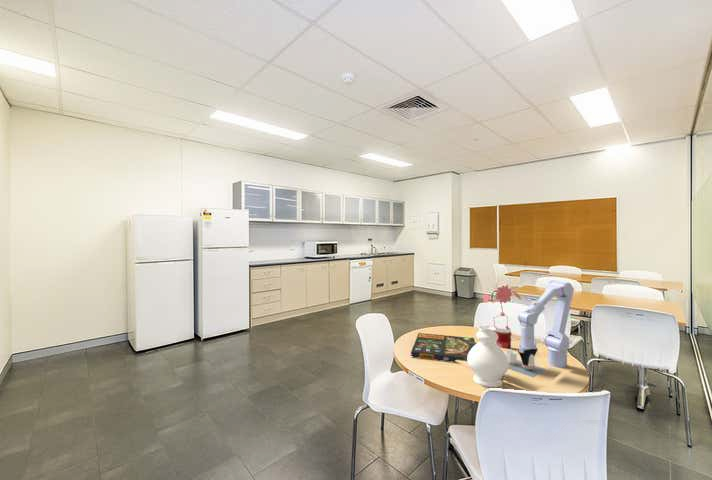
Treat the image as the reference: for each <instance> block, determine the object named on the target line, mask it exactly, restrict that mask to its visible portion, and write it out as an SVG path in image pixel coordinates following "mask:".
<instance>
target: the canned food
mask: <svg viewBox="0 0 712 480" xmlns="http://www.w3.org/2000/svg"><path fill="white" fill-rule="evenodd" d="M510 330H511V329H510ZM510 330H508V329H506V328H497V329H496V334H497V335H498V340H497V341H496V342H495V343H496V344H497V345H498V346H499V347H500V348H501V349H507V350H511V348H512V341H511V340H512V335H511V334H512V330H511V331H510Z"/></svg>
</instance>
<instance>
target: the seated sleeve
mask: <svg viewBox="0 0 712 480" xmlns="http://www.w3.org/2000/svg"><path fill="white" fill-rule="evenodd" d="M504 354H505V355H506V357H507V359H508V362H509V365H512V366H515V365H517V360H518V359H517V352H516V351H514V350H511V349H506V350H504Z"/></svg>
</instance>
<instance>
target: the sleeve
mask: <svg viewBox="0 0 712 480" xmlns="http://www.w3.org/2000/svg"><path fill="white" fill-rule="evenodd" d="M534 365H535V357H534V355H532V354H531V355H530V357H529V363H528V366H526V365H523V363H522V367H523V368H526V369H534Z"/></svg>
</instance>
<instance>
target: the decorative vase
mask: <svg viewBox="0 0 712 480" xmlns="http://www.w3.org/2000/svg"><path fill="white" fill-rule="evenodd" d="M495 327H496V326H495ZM495 327H494V325H486V324H484V325H483V324H481V325H478V329H479V331H477V332H476V338H477V339H478V340H479V341H478V342H477V343H475V345H474V346H473V347H472V349H471V350H470V351H469V353H468V356H467V361H466V362H467V365H468V367H469V368H470V369H471V371H472V372H473V373H474V375H473V381H474V382H475V383H476V384H477V385H480V386H483V387H488V388H498V386H499V387H501V386H502V385H503V380H502V379H501V378H502V377H503V376H504V375H505V374H506V373H507V372H508V370H509V369H508V368H509V362H508V359H507V357H506V355H505V351H504V350H502V348H501V347H499V346H498V345H497V344H496V341H497V340H498V335H497V334H496V333H495V332H494V331H496V328H497V327H496V328H495Z"/></svg>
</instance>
